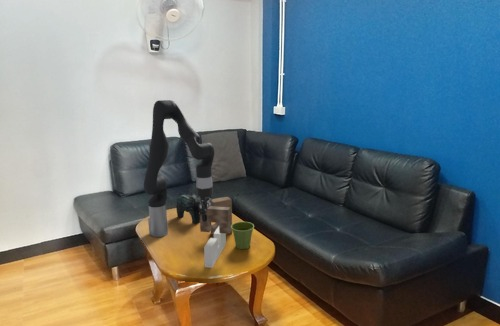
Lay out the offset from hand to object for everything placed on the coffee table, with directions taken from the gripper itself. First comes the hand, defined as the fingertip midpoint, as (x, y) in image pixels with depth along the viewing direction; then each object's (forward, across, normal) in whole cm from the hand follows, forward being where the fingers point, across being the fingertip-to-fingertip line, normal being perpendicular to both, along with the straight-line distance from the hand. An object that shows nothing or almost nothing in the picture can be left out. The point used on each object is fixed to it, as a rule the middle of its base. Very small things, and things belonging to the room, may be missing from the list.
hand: (205, 219), depth 165 cm
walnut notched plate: (+6, 0, +5) cm, 7 cm away
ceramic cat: (+18, -38, -24) cm, 49 cm away
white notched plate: (+18, 0, +4) cm, 19 cm away
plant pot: (+18, -11, +16) cm, 26 cm away
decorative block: (+18, -24, 0) cm, 30 cm away
